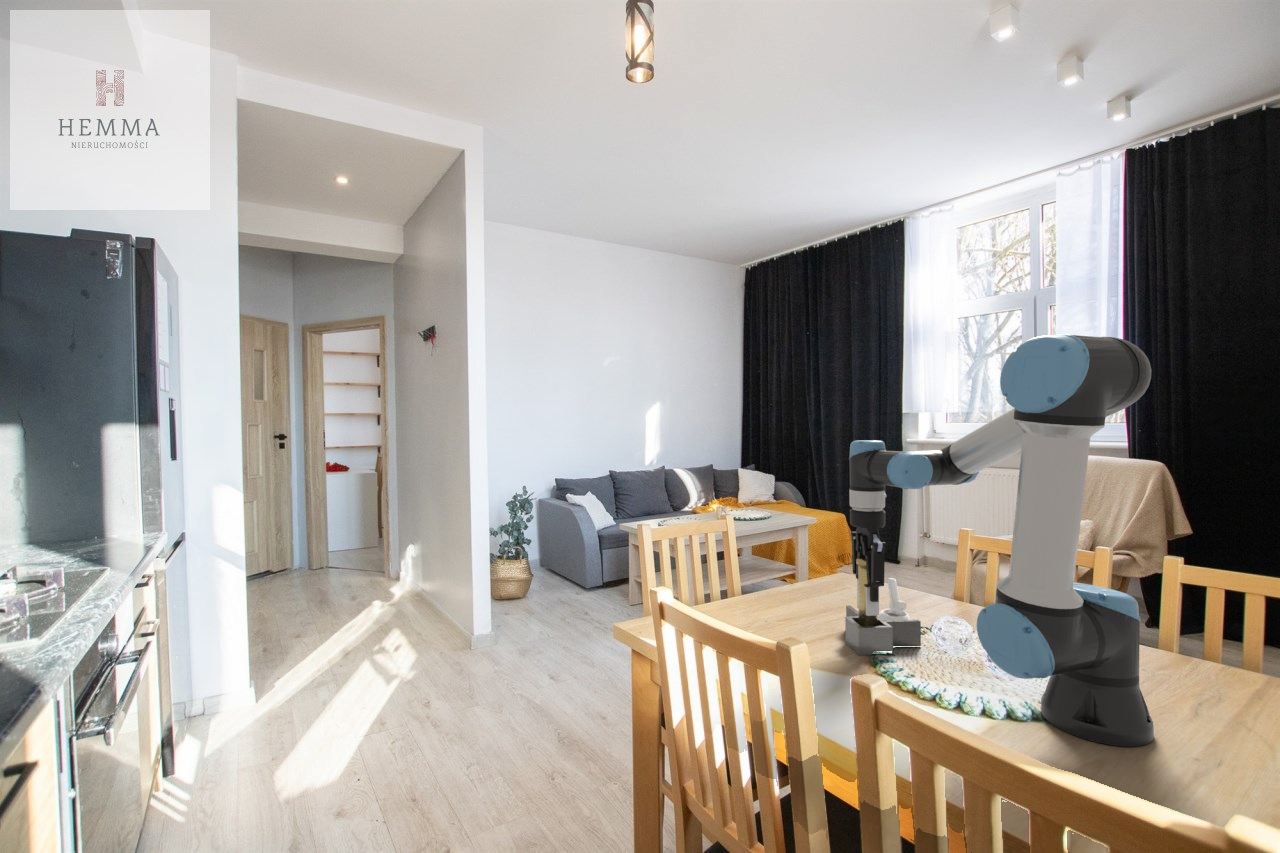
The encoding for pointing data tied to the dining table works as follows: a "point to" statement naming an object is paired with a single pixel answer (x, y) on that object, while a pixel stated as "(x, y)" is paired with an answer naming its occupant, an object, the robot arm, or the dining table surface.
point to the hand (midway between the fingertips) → (867, 611)
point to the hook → (894, 604)
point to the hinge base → (880, 633)
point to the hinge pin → (863, 595)
